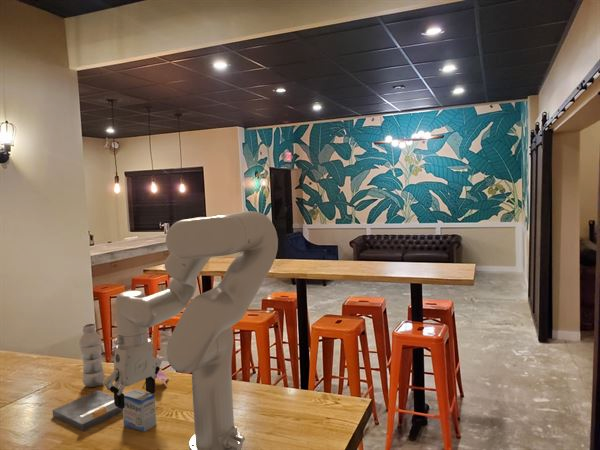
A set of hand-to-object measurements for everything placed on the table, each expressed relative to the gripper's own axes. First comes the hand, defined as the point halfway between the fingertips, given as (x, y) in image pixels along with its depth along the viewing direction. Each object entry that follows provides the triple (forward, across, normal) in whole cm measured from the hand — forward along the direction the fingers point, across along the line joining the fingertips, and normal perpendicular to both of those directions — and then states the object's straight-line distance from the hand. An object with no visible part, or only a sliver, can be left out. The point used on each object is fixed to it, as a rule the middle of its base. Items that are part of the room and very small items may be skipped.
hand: (135, 399), depth 125 cm
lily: (+8, +18, +15) cm, 25 cm away
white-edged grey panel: (+8, -3, +17) cm, 19 cm away
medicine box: (+7, 0, -1) cm, 7 cm away
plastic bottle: (+8, +8, +33) cm, 35 cm away
